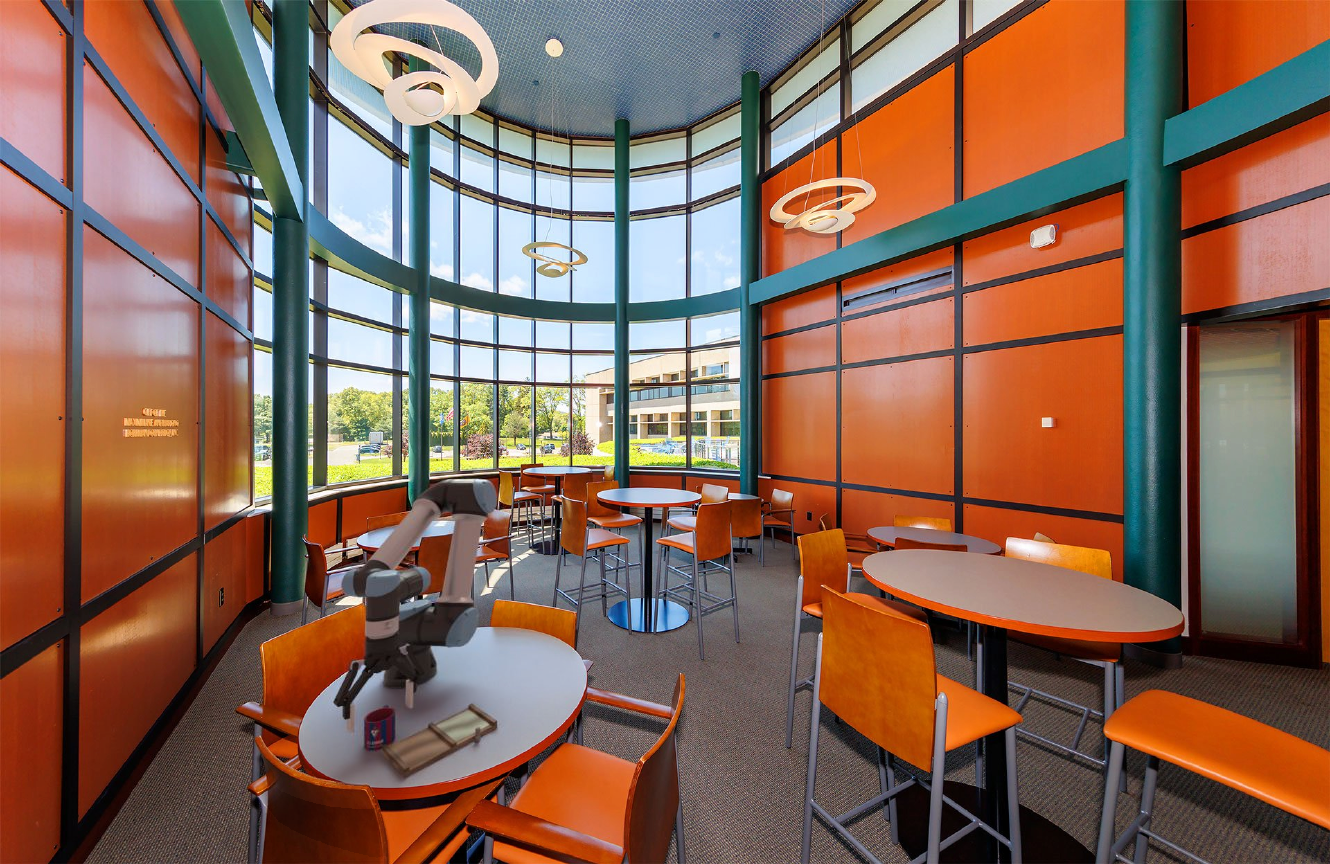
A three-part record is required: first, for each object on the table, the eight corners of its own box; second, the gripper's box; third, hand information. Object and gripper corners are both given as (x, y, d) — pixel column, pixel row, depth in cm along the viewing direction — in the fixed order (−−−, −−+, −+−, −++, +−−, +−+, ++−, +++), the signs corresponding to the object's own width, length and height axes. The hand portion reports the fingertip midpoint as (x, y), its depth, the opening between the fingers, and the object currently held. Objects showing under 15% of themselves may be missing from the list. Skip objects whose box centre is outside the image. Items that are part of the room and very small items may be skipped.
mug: (359, 752, 113) (359, 724, 113) (376, 727, 123) (376, 701, 123) (389, 748, 114) (389, 720, 115) (403, 724, 124) (403, 698, 124)
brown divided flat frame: (381, 753, 113) (381, 740, 113) (471, 709, 131) (471, 698, 131) (407, 780, 104) (407, 766, 104) (500, 729, 121) (500, 718, 122)
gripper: (329, 654, 107) (327, 748, 106) (438, 622, 126) (437, 701, 126) (319, 645, 112) (317, 735, 111) (425, 616, 131) (424, 692, 130)
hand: (381, 717), depth 118 cm, fingers open, 13 cm apart
